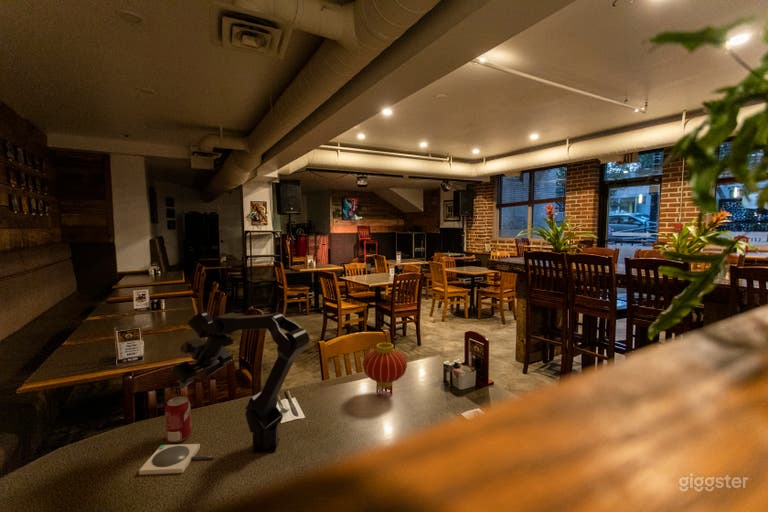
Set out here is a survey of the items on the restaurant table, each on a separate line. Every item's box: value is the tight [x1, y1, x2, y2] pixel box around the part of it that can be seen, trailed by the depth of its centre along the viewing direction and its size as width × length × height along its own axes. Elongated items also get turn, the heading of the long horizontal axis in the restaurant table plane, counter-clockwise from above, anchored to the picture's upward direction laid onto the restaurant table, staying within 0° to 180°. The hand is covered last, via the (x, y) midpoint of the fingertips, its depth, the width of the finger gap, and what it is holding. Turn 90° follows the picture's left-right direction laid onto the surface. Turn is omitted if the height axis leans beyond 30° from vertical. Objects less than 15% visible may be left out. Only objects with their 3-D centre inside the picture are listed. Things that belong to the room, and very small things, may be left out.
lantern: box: [362, 320, 408, 398], centre depth 141 cm, size 17×17×30 cm
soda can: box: [164, 396, 192, 444], centre depth 112 cm, size 7×7×12 cm
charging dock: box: [138, 443, 215, 476], centre depth 102 cm, size 17×11×2 cm, turn 95°
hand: (193, 382), depth 118 cm, fingers open, 9 cm apart
